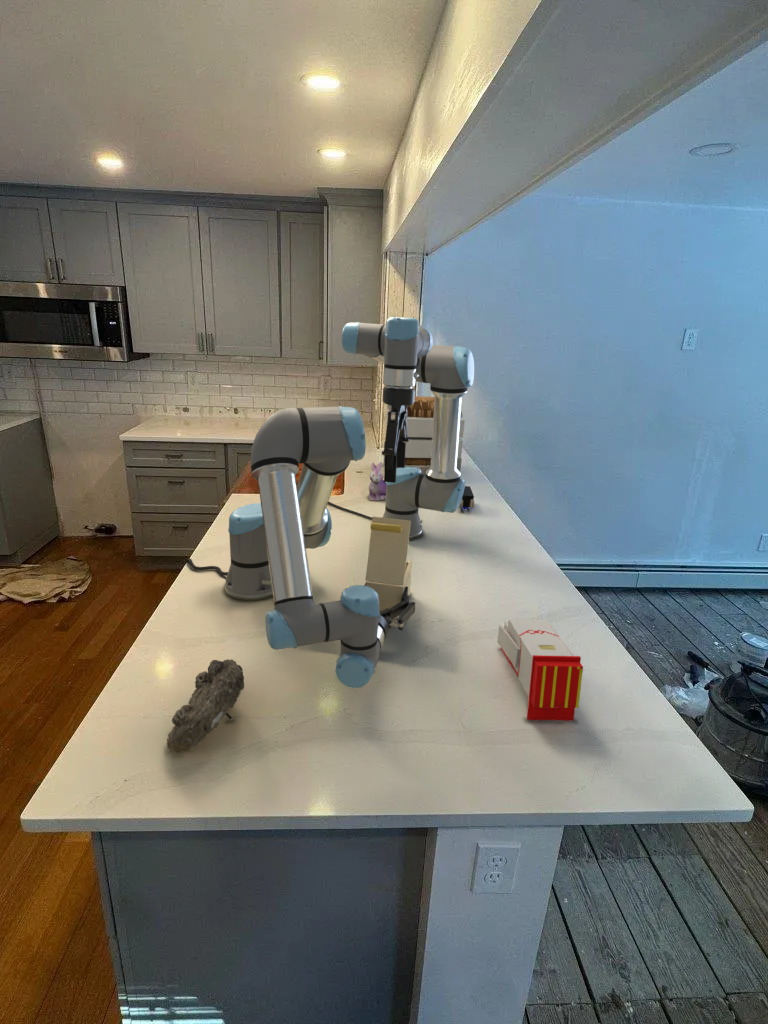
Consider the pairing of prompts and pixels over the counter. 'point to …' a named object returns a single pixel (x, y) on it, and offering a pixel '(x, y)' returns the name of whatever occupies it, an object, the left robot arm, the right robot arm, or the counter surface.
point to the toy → (542, 668)
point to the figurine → (377, 484)
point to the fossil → (206, 705)
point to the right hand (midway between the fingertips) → (394, 474)
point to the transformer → (423, 433)
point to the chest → (391, 590)
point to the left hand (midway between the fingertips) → (386, 588)
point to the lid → (388, 550)
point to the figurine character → (467, 499)
